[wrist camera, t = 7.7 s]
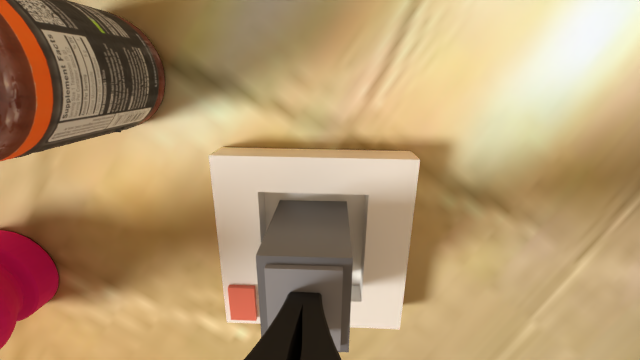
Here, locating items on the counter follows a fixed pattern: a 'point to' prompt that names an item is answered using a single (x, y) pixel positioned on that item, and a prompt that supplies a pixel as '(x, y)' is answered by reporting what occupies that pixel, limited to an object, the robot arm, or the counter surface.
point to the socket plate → (318, 185)
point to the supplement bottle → (71, 75)
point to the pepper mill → (23, 280)
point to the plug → (308, 262)
